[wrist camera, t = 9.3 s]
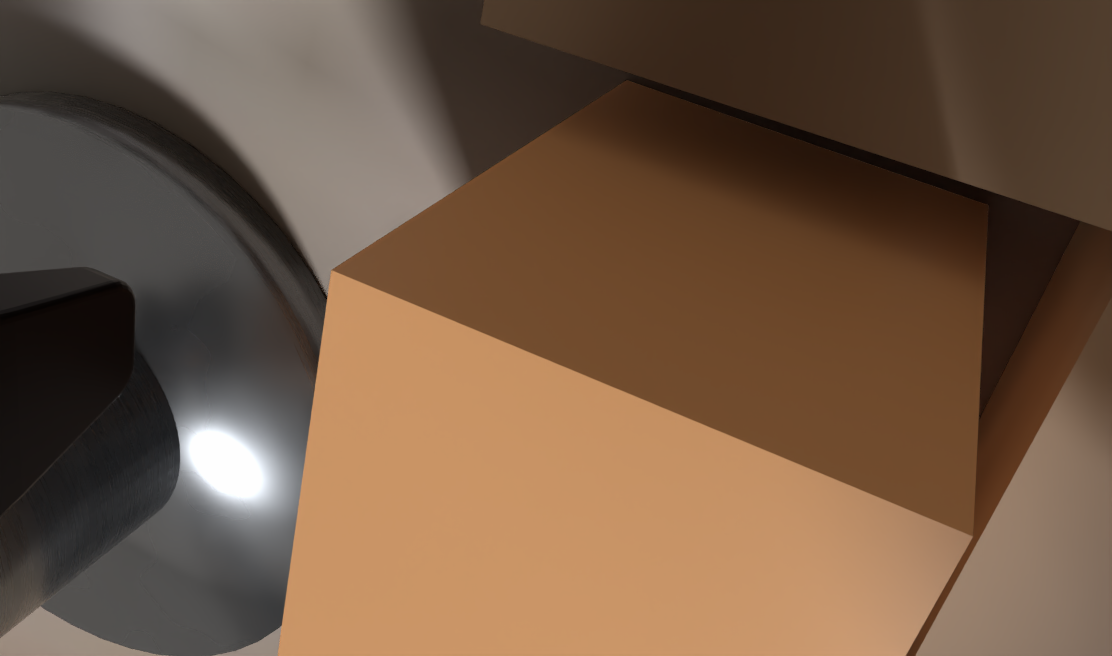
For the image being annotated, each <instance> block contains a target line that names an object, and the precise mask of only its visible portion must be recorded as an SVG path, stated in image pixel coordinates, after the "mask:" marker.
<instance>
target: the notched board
mask: <svg viewBox="0 0 1112 656" xmlns="http://www.w3.org/2000/svg"><path fill="white" fill-rule="evenodd" d="M480 24H481V25H484V26H487V27H490V28H493V29H496V30H499V31H502V32H505V33H508V34H511V35H515V36H518V37H521V38H524V39H527V40H530V41H533V42H536V43H539V44H542V45H545V46H548V47H551V48H554V49H557V50H560V51H563V52H566V53H569V54H573V55H576V56H579V57H582V58H585V59H588V60H591V61H594V62H597V63H600V64H603V65H606V66H609V67H612V68H615V69H618V70H621V71H624V72H627V73H631V74H634V75H637V76H640V77H643V78H646V79H649V80H652V81H655V82H658V83H661V84H664V85H667V86H670V87H673V88H676V89H679V90H682V91H685V92H688V93H692V94H695V95H698V96H701V97H704V98H707V99H710V100H713V101H716V102H719V103H722V104H725V105H728V106H731V107H734V108H737V109H740V110H743V111H746V112H750V113H753V114H756V115H759V116H762V117H765V118H768V119H771V120H774V121H777V122H780V123H783V124H786V125H789V126H792V127H795V128H798V129H801V130H804V131H808V132H811V133H814V134H817V135H820V136H823V137H826V138H829V139H832V140H835V141H838V142H841V143H844V144H847V145H850V146H853V147H856V148H859V149H862V150H866V151H869V152H872V153H875V154H878V155H881V156H884V157H887V158H890V159H893V160H896V161H899V162H902V163H905V164H908V165H911V166H914V167H917V168H920V169H924V170H927V171H930V172H933V173H936V174H939V175H942V176H945V177H948V178H951V179H954V180H957V181H960V182H963V183H966V184H969V185H972V186H975V187H978V188H982V189H985V190H988V191H991V192H994V193H997V194H1000V195H1003V196H1006V197H1009V198H1012V199H1015V200H1018V201H1021V202H1024V203H1027V204H1030V205H1033V206H1036V207H1040V208H1043V209H1046V210H1049V211H1052V212H1055V213H1058V214H1061V215H1064V216H1067V217H1070V218H1073V219H1076V220H1079V221H1080V223H1079V225H1078V227H1077V229H1076V231H1075V233H1074V235H1073V236H1072V238H1071V240H1070V242H1069V244H1068V246H1067V248H1066V250H1065V252H1064V254H1063V256H1062V258H1061V260H1060V262H1059V264H1058V266H1057V268H1056V270H1055V272H1054V274H1053V276H1052V278H1051V280H1050V282H1049V284H1048V286H1047V287H1046V289H1045V291H1044V293H1043V295H1042V297H1041V299H1040V301H1039V303H1038V305H1037V307H1036V309H1035V311H1034V313H1033V315H1032V317H1031V319H1030V321H1029V323H1028V325H1027V327H1026V329H1025V331H1024V333H1023V335H1022V337H1021V338H1020V340H1019V342H1018V344H1017V346H1016V348H1015V350H1014V352H1013V354H1012V356H1011V358H1010V360H1009V362H1008V364H1007V366H1006V368H1005V370H1004V372H1003V374H1002V376H1001V378H1000V380H999V382H998V384H997V386H996V388H995V389H994V391H993V393H992V395H991V397H990V399H989V401H988V403H987V405H986V407H985V409H984V411H983V413H982V415H981V417H980V419H979V421H978V443H977V464H976V485H975V506H974V528H973V538H972V539H971V541H970V543H969V545H968V546H967V548H966V550H965V552H964V554H963V555H962V557H961V559H960V561H959V562H958V564H957V566H956V568H955V569H954V571H953V573H952V575H951V577H950V578H949V580H948V582H947V584H946V585H945V587H944V589H943V591H942V592H941V594H940V596H939V598H938V599H937V601H936V603H935V605H934V607H933V608H932V610H931V612H930V614H929V615H928V617H927V619H926V621H925V622H924V624H923V626H922V628H921V630H920V631H919V633H918V635H917V637H916V638H915V640H914V642H913V644H912V645H911V647H910V649H909V651H908V653H907V654H906V656H1112V0H484V4H483V10H482V15H481V21H480Z"/></svg>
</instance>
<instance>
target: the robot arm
mask: <svg viewBox="0 0 1112 656" xmlns="http://www.w3.org/2000/svg"><path fill="white" fill-rule="evenodd" d="M135 306H136V303H135V296H134V293H133V290H132V289H131V287H130V286H129V285H128V284H127V283H126V282H124V281H122V280H119V279H117V278H115V277H112V276H110V275H108V274H105V273H103V272H101V271H98V270H96V269H93V268H89V267H73V268H61V269H49V270H37V271H25V272H13V273H1V274H0V518H1V517H2V516H3V515H4V514H5V513H6V512H7V511H8V510H9V509H10V508H11V507H12V506H13V505H14V504H15V503H16V502H17V501H18V500H19V499H20V498H21V497H23V496H24V494H25V493H26V492H27V491H28V490H29V489H30V488H31V487H32V486H33V485H34V484H35V483H36V482H37V481H38V480H39V479H40V478H41V477H42V476H43V475H44V474H45V473H46V472H47V471H48V469H49V468H50V467H51V466H52V465H53V464H54V463H55V462H56V461H57V460H58V459H59V458H60V457H61V456H62V455H63V454H64V453H65V452H66V451H67V450H68V449H69V448H70V447H71V446H72V445H73V443H74V442H75V441H76V440H77V439H78V438H79V437H80V436H81V435H82V434H83V433H84V432H85V431H86V430H87V429H88V428H89V427H90V426H91V425H92V424H93V423H94V422H95V421H96V420H97V418H98V417H99V416H100V415H101V414H102V413H103V412H104V411H105V410H106V409H107V408H108V407H109V406H110V405H111V404H112V403H113V402H114V401H115V400H116V399H117V398H118V397H119V396H120V394H121V393H122V392H123V391H124V389H125V388H126V386H127V384H128V383H129V380H130V378H131V376H132V372H133V369H134V354H135Z"/></svg>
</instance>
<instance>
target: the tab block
mask: <svg viewBox="0 0 1112 656" xmlns="http://www.w3.org/2000/svg"><path fill="white" fill-rule="evenodd" d="M988 209H989V205H987V204H984V203H981V202H978V201H975V200H972V199H969V198H967V197H964V196H961V195H958V194H955V193H952V192H949V191H946V190H943V189H940V188H938V187H935V186H932V185H929V184H926V183H923V182H920V181H917V180H914V179H912V178H909V177H906V176H903V175H900V174H897V173H894V172H891V171H888V170H885V169H883V168H880V167H877V166H874V165H871V164H868V163H865V162H862V161H859V160H856V159H854V158H851V157H848V156H845V155H842V154H839V153H836V152H833V151H830V150H828V149H825V148H822V147H819V146H816V145H813V144H810V143H807V142H804V141H801V140H799V139H796V138H793V137H790V136H787V135H784V134H781V133H778V132H775V131H773V130H770V129H767V128H764V127H761V126H758V125H755V124H752V123H749V122H746V121H744V120H741V119H738V118H735V117H732V116H729V115H726V114H723V113H720V112H718V111H715V110H712V109H709V108H706V107H703V106H700V105H697V104H694V103H691V102H689V101H686V100H683V99H680V98H677V97H674V96H671V95H668V94H665V93H662V92H660V91H657V90H654V89H651V88H648V87H645V86H642V85H639V84H636V83H634V82H631V81H628V80H626V81H625V82H623V83H622V84H620V85H619V86H617V87H615V88H614V89H612V90H611V91H609V92H608V93H606V94H605V95H603V96H601V97H600V98H598V99H597V100H595V101H594V102H592V103H591V104H589V105H587V106H586V107H584V108H583V109H581V110H580V111H578V112H577V113H575V114H573V115H572V116H570V117H569V118H567V119H566V120H564V121H563V122H561V123H559V124H558V125H556V126H555V127H553V128H552V129H550V130H549V131H547V132H545V133H544V134H542V135H541V136H539V137H538V138H536V139H535V140H533V141H531V142H530V143H528V144H527V145H525V146H524V147H522V148H521V149H519V150H517V151H516V152H514V153H513V154H511V155H510V156H508V157H507V158H505V159H503V160H502V161H500V162H499V163H497V164H496V165H494V166H493V167H491V168H489V169H488V170H486V171H485V172H483V173H482V174H480V175H479V176H477V177H475V178H474V179H472V180H471V181H469V182H468V183H466V184H464V185H463V186H461V187H460V188H458V189H457V190H455V191H454V192H452V193H450V194H449V195H447V196H446V197H444V198H443V199H441V200H440V201H438V202H436V203H435V204H433V205H432V206H430V207H429V208H427V209H426V210H424V211H422V212H421V213H419V214H418V215H416V216H415V217H413V218H412V219H410V220H408V221H407V222H405V223H404V224H402V225H401V226H399V227H398V228H396V229H394V230H393V231H391V232H390V233H388V234H387V235H385V236H384V237H382V238H380V239H379V240H377V241H376V242H374V243H373V244H371V245H370V246H368V247H366V248H365V249H363V250H362V251H360V252H359V253H357V254H356V255H354V256H352V257H351V258H349V259H348V260H346V261H345V262H343V263H342V264H340V265H338V266H337V267H335V268H334V269H332V270H331V276H330V283H329V290H328V297H327V304H326V312H325V319H324V326H323V333H322V340H321V348H320V355H319V362H318V369H317V376H316V384H315V391H314V398H313V405H312V412H311V420H310V427H309V434H308V441H307V448H306V456H305V463H304V470H303V477H302V484H301V492H300V499H299V506H298V513H297V520H296V528H295V535H294V542H293V549H292V556H291V563H290V571H289V578H288V585H287V592H286V599H285V607H284V614H283V621H282V628H281V635H280V643H279V650H278V656H906V654H907V653H908V651H909V649H910V647H911V645H912V644H913V642H914V640H915V638H916V637H917V635H918V633H919V631H920V630H921V628H922V626H923V624H924V622H925V621H926V619H927V617H928V615H929V614H930V612H931V610H932V608H933V607H934V605H935V603H936V601H937V599H938V598H939V596H940V594H941V592H942V591H943V589H944V587H945V585H946V584H947V582H948V580H949V578H950V577H951V575H952V573H953V571H954V569H955V568H956V566H957V564H958V562H959V561H960V559H961V557H962V555H963V554H964V552H965V550H966V548H967V546H968V545H969V543H970V541H971V539H972V538H973V528H974V506H975V485H976V464H977V443H978V421H979V400H980V379H981V358H982V336H983V315H984V294H985V273H986V251H987V230H988Z"/></svg>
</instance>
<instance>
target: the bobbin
mask: <svg viewBox="0 0 1112 656" xmlns="http://www.w3.org/2000/svg"><path fill="white" fill-rule="evenodd" d="M73 267H89V268H93V269H96V270H98V271H101V272H103V273H105V274H108V275H110V276H112V277H115V278H117V279H119V280H122V281H124V282H126V283H127V284H128V285H129V286H130V287H131V289H132V290H133V293H134V296H135V303H136V306H135V354H134V369H133V372H132V376H131V378H130V380H129V383H128V384H127V386H126V388H125V389H124V391H123V392H122V393H121V394H120V396H119V397H118V398H117V399H116V400H115V401H114V402H113V403H112V404H111V405H110V406H109V407H108V408H107V409H106V410H105V411H104V412H103V413H102V414H101V415H100V416H99V417H98V418H97V420H96V421H95V422H94V423H93V424H92V425H91V426H90V427H89V428H88V429H87V430H86V431H85V432H84V433H83V434H82V435H81V436H80V437H79V438H78V439H77V440H76V441H75V442H74V443H73V445H72V446H71V447H70V448H69V449H68V450H67V451H66V452H65V453H64V454H63V455H62V456H61V457H60V458H59V459H58V460H57V461H56V462H55V463H54V464H53V465H52V466H51V467H50V468H49V469H48V471H47V472H46V473H45V474H44V475H43V476H42V477H41V478H40V479H39V480H38V481H37V482H36V483H35V484H34V485H33V486H32V487H31V488H30V489H29V490H28V491H27V492H26V493H25V494H24V496H23V497H21V498H20V499H19V500H18V501H17V502H16V503H15V504H14V505H13V506H12V507H11V508H10V509H9V510H8V511H7V512H6V513H5V514H4V515H3V516H2V517H1V518H0V638H1V637H2V636H3V635H5V634H6V633H7V632H8V631H10V630H11V629H12V628H13V627H15V626H16V625H17V624H18V623H20V622H21V621H22V620H24V619H25V618H26V617H27V616H29V615H30V614H31V613H32V612H34V611H35V610H36V609H37V608H39V607H40V606H41V607H42V608H44V609H45V610H47V611H49V612H51V613H52V614H54V615H56V616H58V617H59V618H61V619H63V620H64V621H66V622H68V623H70V624H71V625H73V626H76V627H78V628H80V629H82V630H84V631H86V632H88V633H91V634H93V635H95V636H97V637H99V638H102V639H105V640H107V641H110V642H113V643H116V644H119V645H122V646H125V647H128V648H131V649H136V650H140V651H144V652H149V653H153V654H159V655H169V656H212V655H217V654H222V653H226V652H231V651H236V650H238V649H241V648H243V647H246V646H248V645H251V644H253V643H255V642H258V641H260V640H261V639H263V638H264V637H266V636H267V635H269V634H270V633H272V632H273V631H275V630H276V629H278V628H279V627H280V626H281V625H282V621H283V614H284V607H285V599H286V592H287V585H288V578H289V571H290V563H291V556H292V549H293V542H294V535H295V528H296V520H297V513H298V506H299V499H300V492H301V484H302V477H303V470H304V463H305V456H306V448H307V441H308V434H309V427H310V420H311V412H312V405H313V398H314V391H315V384H316V376H317V369H318V362H319V355H320V348H321V340H322V333H323V326H324V319H325V312H326V304H327V301H326V299H325V297H324V295H323V294H322V292H321V290H320V288H319V286H318V285H317V283H316V281H315V279H314V277H313V276H312V274H311V272H310V271H309V269H308V268H307V267H306V265H305V264H304V262H303V261H302V259H301V258H300V256H299V255H298V254H297V252H296V251H295V249H294V248H293V246H292V245H291V243H290V242H289V241H288V239H287V238H286V236H285V235H284V234H283V233H282V232H281V230H280V229H279V228H278V227H277V226H276V225H275V223H274V222H273V221H272V220H271V219H270V218H269V216H268V215H267V214H266V213H265V212H264V211H263V209H262V208H261V207H260V206H259V205H258V203H257V202H256V201H255V200H254V199H253V198H251V197H250V196H249V195H248V194H247V193H246V192H245V191H244V190H243V189H242V188H241V187H240V186H239V185H238V184H237V183H236V182H235V181H234V180H233V179H232V178H231V177H230V176H229V175H228V174H226V173H225V172H224V171H223V170H222V169H220V168H219V167H218V166H217V165H215V164H214V163H213V162H211V161H210V160H209V159H208V158H206V157H205V156H204V155H202V154H201V153H200V152H199V151H197V150H196V149H195V148H193V147H192V146H191V145H189V144H188V143H186V142H184V141H183V140H181V139H179V138H178V137H176V136H175V135H173V134H171V133H170V132H168V131H166V130H165V129H163V128H161V127H160V126H158V125H157V124H155V123H153V122H150V121H148V120H146V119H144V118H142V117H140V116H137V115H135V114H133V113H131V112H129V111H126V110H124V109H122V108H120V107H117V106H113V105H110V104H107V103H103V102H100V101H97V100H94V99H90V98H87V97H83V96H76V95H69V94H62V93H55V92H24V93H15V94H11V95H6V96H1V97H0V274H1V273H13V272H25V271H37V270H49V269H61V268H73Z"/></svg>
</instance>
